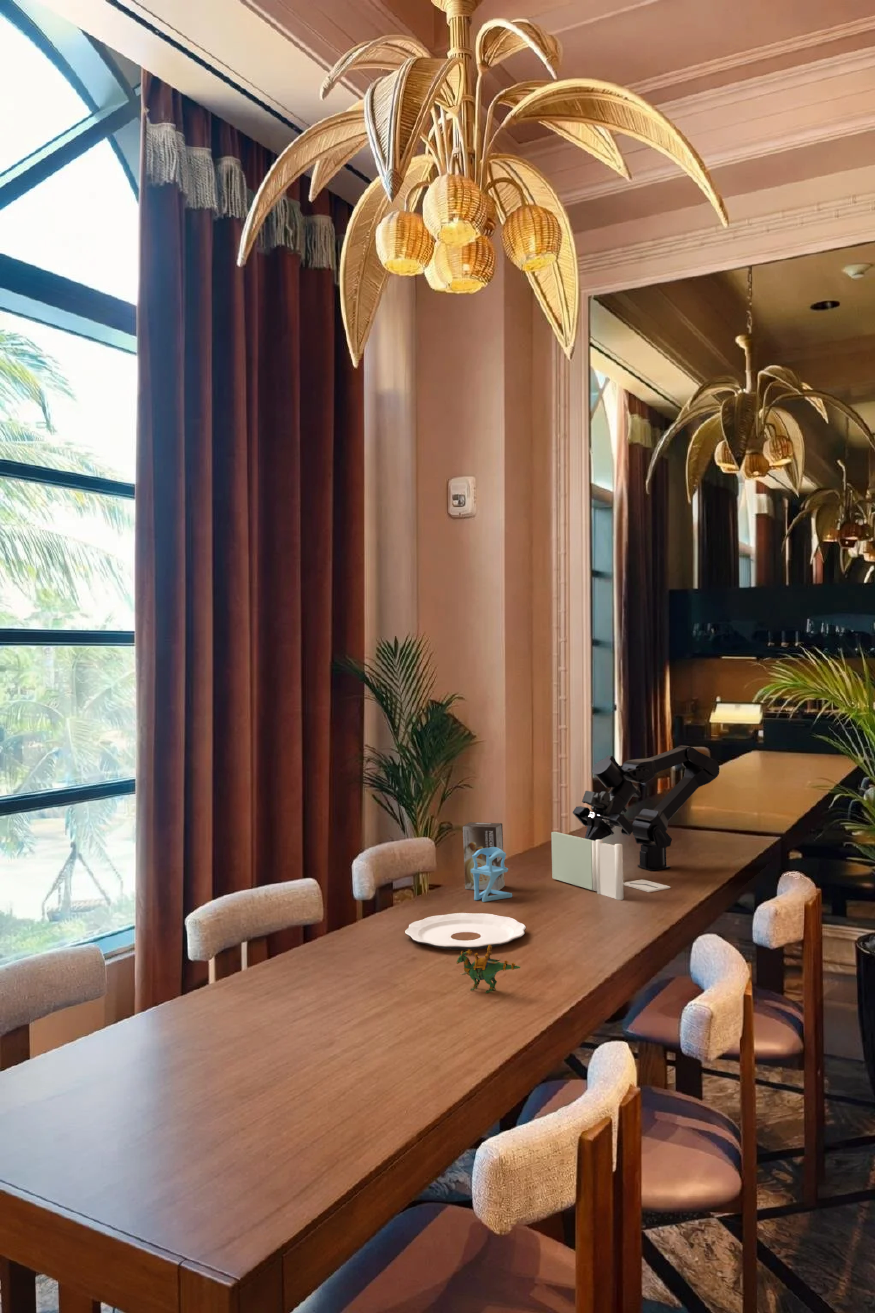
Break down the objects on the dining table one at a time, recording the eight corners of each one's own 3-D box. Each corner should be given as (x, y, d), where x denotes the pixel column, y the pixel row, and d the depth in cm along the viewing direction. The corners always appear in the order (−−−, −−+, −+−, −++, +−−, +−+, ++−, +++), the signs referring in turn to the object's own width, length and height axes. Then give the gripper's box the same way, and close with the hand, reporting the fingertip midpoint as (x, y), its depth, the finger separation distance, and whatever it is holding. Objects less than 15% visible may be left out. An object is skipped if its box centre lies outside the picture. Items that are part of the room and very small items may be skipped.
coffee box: (505, 885, 252) (504, 822, 252) (498, 891, 246) (497, 827, 246) (471, 883, 255) (469, 821, 255) (463, 889, 249) (462, 825, 249)
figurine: (460, 984, 177) (459, 938, 177) (524, 992, 172) (523, 945, 172) (453, 990, 174) (452, 943, 174) (518, 997, 170) (517, 950, 170)
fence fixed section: (625, 899, 235) (623, 844, 235) (619, 900, 234) (618, 845, 234) (601, 892, 243) (599, 839, 242) (595, 893, 242) (594, 840, 242)
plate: (390, 929, 215) (390, 921, 215) (496, 916, 223) (495, 908, 223) (430, 962, 191) (430, 952, 191) (546, 945, 200) (546, 936, 200)
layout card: (670, 888, 245) (670, 886, 245) (649, 892, 241) (649, 890, 241) (642, 880, 253) (642, 878, 253) (621, 884, 250) (621, 882, 250)
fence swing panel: (598, 890, 243) (597, 841, 243) (594, 891, 242) (593, 842, 242) (556, 877, 257) (554, 831, 257) (552, 878, 257) (551, 832, 257)
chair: (466, 899, 239) (465, 849, 239) (488, 892, 245) (487, 844, 245) (491, 903, 234) (490, 853, 234) (513, 897, 240) (511, 847, 240)
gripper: (577, 776, 267) (545, 821, 261) (623, 783, 251) (590, 831, 245) (600, 802, 271) (569, 847, 265) (647, 811, 255) (615, 859, 249)
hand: (585, 845), depth 256 cm, fingers closed
